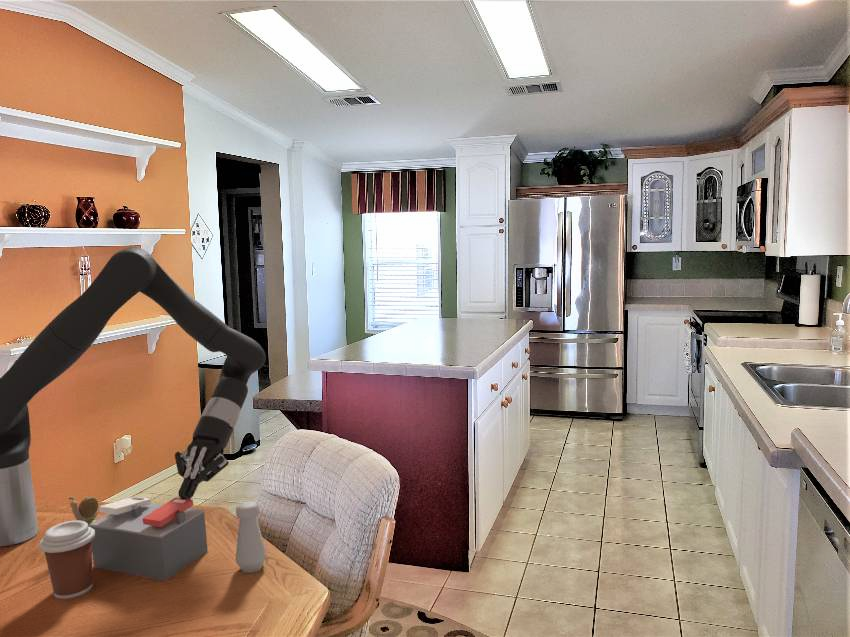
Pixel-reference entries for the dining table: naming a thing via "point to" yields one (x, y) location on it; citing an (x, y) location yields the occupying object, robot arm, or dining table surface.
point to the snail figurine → (85, 509)
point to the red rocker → (167, 512)
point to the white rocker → (124, 505)
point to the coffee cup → (69, 558)
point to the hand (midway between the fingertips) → (183, 498)
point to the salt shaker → (249, 539)
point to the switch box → (148, 542)
